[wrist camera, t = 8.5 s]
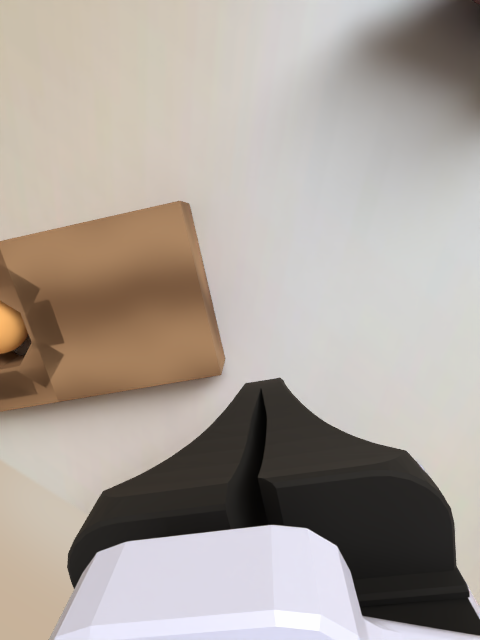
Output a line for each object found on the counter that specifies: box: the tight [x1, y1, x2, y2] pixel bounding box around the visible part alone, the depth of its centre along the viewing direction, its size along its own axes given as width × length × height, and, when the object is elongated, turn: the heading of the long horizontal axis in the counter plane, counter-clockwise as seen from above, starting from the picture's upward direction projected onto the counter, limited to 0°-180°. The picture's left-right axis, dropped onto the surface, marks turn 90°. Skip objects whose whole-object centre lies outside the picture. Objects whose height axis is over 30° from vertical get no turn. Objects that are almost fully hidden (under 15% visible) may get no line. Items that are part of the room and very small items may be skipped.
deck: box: [0, 201, 225, 411], centre depth 21 cm, size 10×17×2 cm, turn 102°
